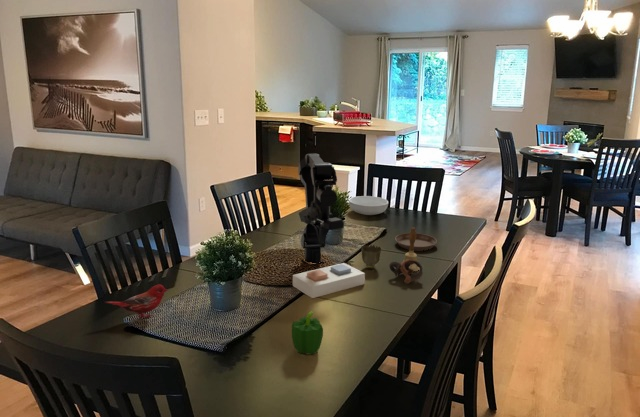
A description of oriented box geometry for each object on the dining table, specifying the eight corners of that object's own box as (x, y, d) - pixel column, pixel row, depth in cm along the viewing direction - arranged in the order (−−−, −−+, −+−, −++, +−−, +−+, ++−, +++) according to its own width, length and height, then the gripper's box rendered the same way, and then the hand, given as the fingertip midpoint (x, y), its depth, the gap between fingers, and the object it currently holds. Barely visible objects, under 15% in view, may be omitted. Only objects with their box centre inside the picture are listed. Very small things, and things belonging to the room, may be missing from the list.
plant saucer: (425, 255, 208) (425, 248, 208) (387, 246, 219) (387, 239, 218) (443, 245, 222) (443, 238, 221) (406, 237, 232) (407, 230, 232)
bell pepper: (308, 362, 129) (308, 326, 126) (285, 350, 134) (285, 315, 132) (329, 349, 135) (330, 315, 133) (307, 338, 140) (307, 305, 138)
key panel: (292, 285, 175) (292, 274, 174) (343, 273, 188) (343, 262, 187) (312, 298, 166) (312, 286, 165) (364, 284, 178) (364, 273, 177)
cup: (379, 272, 189) (380, 251, 187) (359, 270, 191) (360, 250, 189) (380, 265, 196) (381, 245, 194) (361, 263, 198) (362, 243, 196)
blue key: (330, 274, 179) (330, 266, 179) (341, 272, 182) (342, 264, 181) (339, 279, 176) (339, 271, 175) (350, 276, 178) (350, 268, 178)
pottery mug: (419, 275, 188) (426, 261, 183) (415, 294, 182) (423, 280, 176) (388, 265, 189) (394, 250, 184) (383, 284, 183) (389, 269, 177)
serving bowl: (346, 217, 263) (346, 204, 261) (350, 207, 283) (351, 195, 281) (386, 219, 259) (387, 206, 258) (388, 209, 279) (389, 197, 278)
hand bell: (423, 266, 196) (426, 226, 192) (417, 273, 189) (420, 232, 185) (402, 262, 200) (405, 223, 196) (396, 269, 192) (398, 228, 188)
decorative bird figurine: (169, 316, 151) (167, 285, 149) (105, 323, 146) (102, 291, 144) (169, 312, 154) (167, 281, 151) (106, 319, 149) (103, 287, 146)
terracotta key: (306, 280, 174) (307, 272, 173) (318, 277, 177) (319, 269, 176) (315, 285, 170) (315, 277, 169) (327, 282, 173) (327, 274, 172)
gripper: (288, 196, 180) (287, 238, 184) (318, 208, 165) (317, 253, 169) (314, 193, 186) (313, 233, 190) (345, 203, 171) (344, 247, 175)
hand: (321, 242), depth 181 cm, fingers closed
